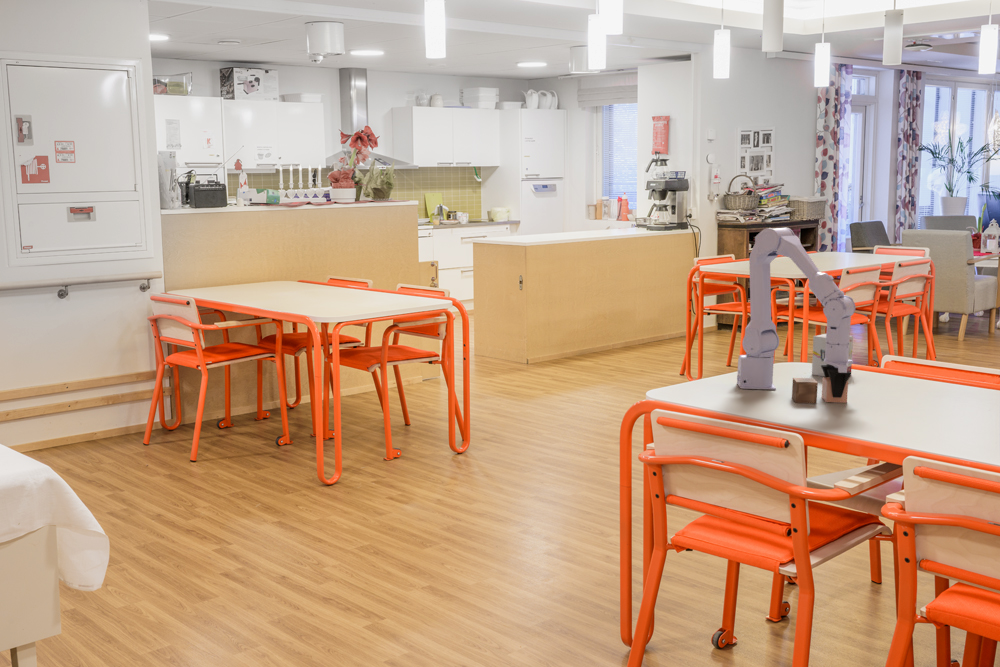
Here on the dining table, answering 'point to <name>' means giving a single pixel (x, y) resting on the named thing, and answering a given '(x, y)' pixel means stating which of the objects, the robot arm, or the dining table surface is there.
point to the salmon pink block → (828, 391)
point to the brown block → (804, 390)
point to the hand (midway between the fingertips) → (834, 394)
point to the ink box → (819, 354)
